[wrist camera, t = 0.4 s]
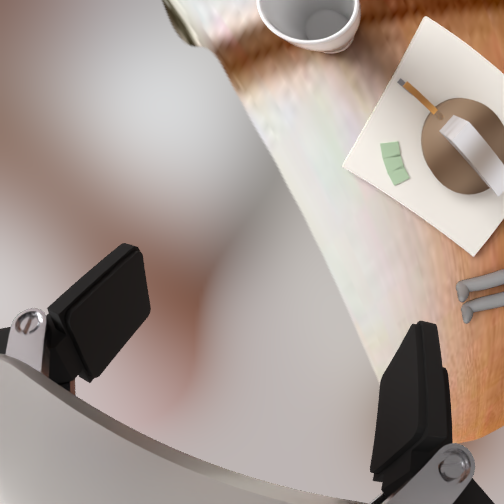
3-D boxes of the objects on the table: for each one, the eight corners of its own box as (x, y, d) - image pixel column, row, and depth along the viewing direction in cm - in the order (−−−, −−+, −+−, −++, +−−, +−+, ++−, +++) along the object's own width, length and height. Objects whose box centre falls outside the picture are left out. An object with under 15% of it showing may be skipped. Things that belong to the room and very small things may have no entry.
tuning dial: (516, 147, 24) (545, 165, 18) (462, 205, 30) (480, 233, 24) (430, 51, 23) (447, 44, 17) (373, 117, 29) (377, 126, 23)
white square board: (423, 18, 22) (425, 15, 21) (552, 128, 22) (559, 131, 20) (343, 163, 34) (342, 167, 33) (470, 250, 33) (473, 257, 32)
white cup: (374, 34, 25) (383, 2, 13) (331, 72, 29) (309, 66, 17) (327, -7, 24) (301, -59, 12) (285, 31, 28) (234, 4, 16)
